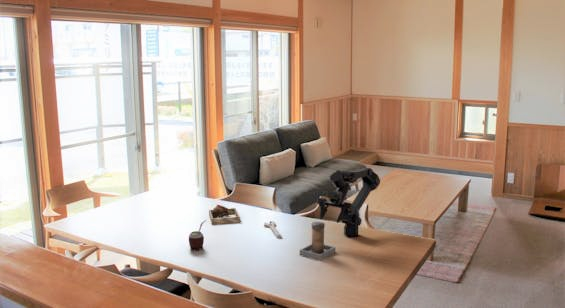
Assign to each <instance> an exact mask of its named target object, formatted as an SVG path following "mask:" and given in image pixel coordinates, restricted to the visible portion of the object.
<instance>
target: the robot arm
mask: <svg viewBox="0 0 565 308" xmlns="http://www.w3.org/2000/svg"><path fill="white" fill-rule="evenodd" d="M358 179H361V181H362V187H361V189H359V192H358V193H357V195H356V197H355V198H354V200H353V201H352V203H351V202H346V201H347V196H348V193H349V191H352V187H351V184H354V183H356V182H357V181H358ZM329 180H330V181H331V183H332V184H333V186H334V187H335V188H336V189H335V190H333V191H331V190H327V191H326V196H325V197H326V198H323V197H318V198H317V199H316V204H317V205H318V206H319V208H320V209H319V210H320V213H319V219H320V220H323V219H324V217H325V215H326V213H327V211H328V208H329V207H333V208H339V209H340V213H339V214H338V217H337V218H336V219H337V220H336V223H337V224H339V223H340V222H342V224H344V226H343V235H345V236H346V237H347V238H356V237H357V238H358V237H360V234H359V226H361V224H362V222H363V221H362V218H361V215H360V211H361V208H362V207H363V205H364V203H365V202H366V200H367V198H368V197H369V195H370V193H372V192H373V191H375V190H377V188H378V187H379V186H380V183H381V178H380V176H379V175H378V174H377V173H376V172H374V170H373V168H370V167H362V168H358V169H355V170H342V171H341V170H338V169H337V170H336V171H335V172H333V173H332V174H330V176H329ZM327 198H328V200H327Z"/></svg>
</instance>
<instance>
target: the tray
mask: <svg viewBox="0 0 565 308" xmlns="http://www.w3.org/2000/svg"><path fill="white" fill-rule="evenodd" d="M334 253H336V246H334V245H328V244H324V252H323V253H321V254H317V253H313V252H312V243H311V244H309V245H307V246H305V247H303V248H301V249H299V256H302V255H303V257H306V256H308V257H307V258H310V257H311V258H310V259H314V258H315V259H314V260H317V259H318V261H322V260H324V259H326V258H328V257H330V256H331V255H333V254H334Z"/></svg>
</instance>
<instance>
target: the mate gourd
mask: <svg viewBox="0 0 565 308" xmlns="http://www.w3.org/2000/svg"><path fill="white" fill-rule="evenodd" d="M206 221H207V219H205V220H204V221H202V222H201V223H200V226H199V230H198V231H197V230H196V231H191V232H190V233H189V235H188V243H189V247H190V248H189V249H190V251H194V250H196V251H197V252H199V251H200V250H201V249H204V247H203V246H204V241H205V240H204V239H205V238H204V237H205V236H204V234H203V232H201V229H202V227H203V224H204V223H205V222H206Z"/></svg>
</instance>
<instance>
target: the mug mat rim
mask: <svg viewBox="0 0 565 308" xmlns="http://www.w3.org/2000/svg"><path fill="white" fill-rule="evenodd" d="M228 209H229V210H228V212H229V215H230V214H231V215H232V214H234V216H228V217H226V216H225V217H222V218H219V217H218V218H213V217H212V212H213V209H208V216H209V219H210V223H211V225H219V224H230V223H240V222H241V216H240V215H239V212H238V210H237V208H236V207H231V208H230V207H229V208H228ZM218 212H219V211H218ZM223 215H227V213H225V212H224V214H223Z"/></svg>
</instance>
